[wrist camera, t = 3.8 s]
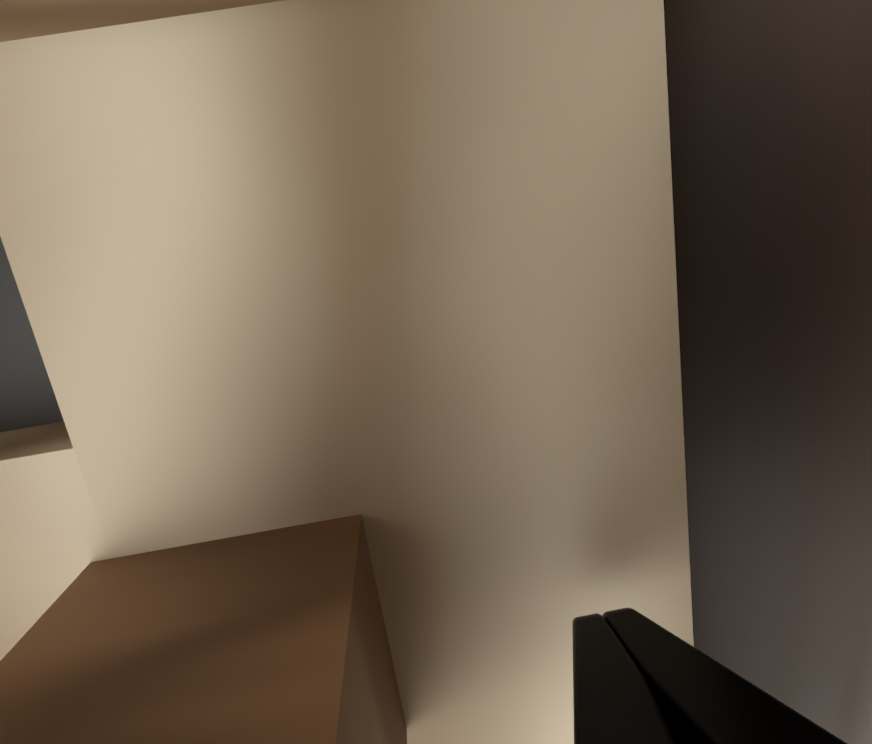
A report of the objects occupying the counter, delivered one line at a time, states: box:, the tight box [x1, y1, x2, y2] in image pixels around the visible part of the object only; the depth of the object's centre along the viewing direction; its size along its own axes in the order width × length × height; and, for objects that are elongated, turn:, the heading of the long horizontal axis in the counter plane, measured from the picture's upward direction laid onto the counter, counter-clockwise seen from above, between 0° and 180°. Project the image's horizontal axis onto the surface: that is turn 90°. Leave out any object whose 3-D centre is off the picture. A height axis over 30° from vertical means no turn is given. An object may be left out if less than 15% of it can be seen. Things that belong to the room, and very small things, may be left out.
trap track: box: [0, 0, 694, 744], centre depth 8 cm, size 16×19×4 cm
